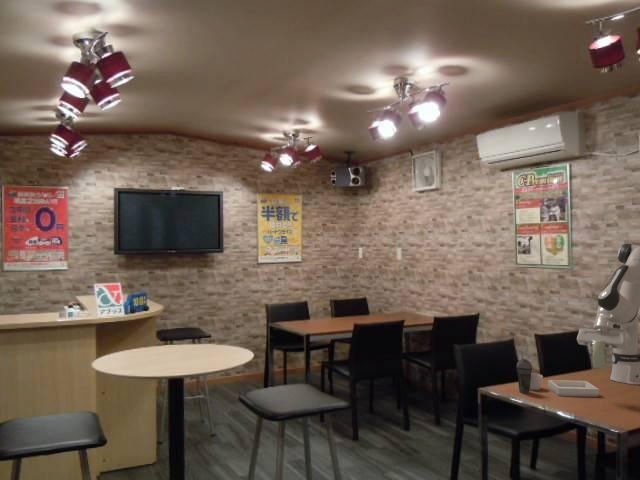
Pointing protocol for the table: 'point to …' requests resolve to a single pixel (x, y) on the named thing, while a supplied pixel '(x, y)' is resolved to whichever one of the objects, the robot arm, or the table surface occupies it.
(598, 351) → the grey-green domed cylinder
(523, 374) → the beverage cup
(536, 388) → the candle
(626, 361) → the robot arm
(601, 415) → the table surface
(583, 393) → the tray
